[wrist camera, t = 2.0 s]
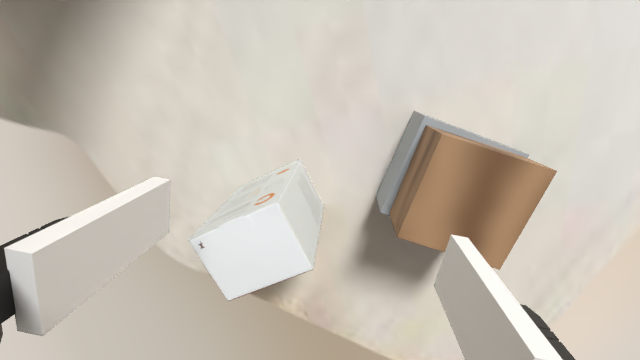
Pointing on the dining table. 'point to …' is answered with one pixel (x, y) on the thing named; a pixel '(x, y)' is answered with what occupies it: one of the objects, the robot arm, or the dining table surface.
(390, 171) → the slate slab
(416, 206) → the brown wooden block
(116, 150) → the dining table surface
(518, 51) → the dining table surface
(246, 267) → the small box
